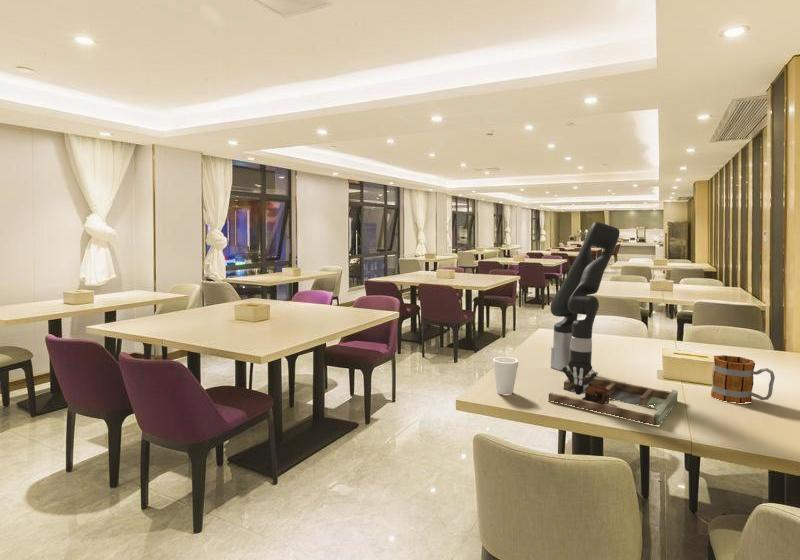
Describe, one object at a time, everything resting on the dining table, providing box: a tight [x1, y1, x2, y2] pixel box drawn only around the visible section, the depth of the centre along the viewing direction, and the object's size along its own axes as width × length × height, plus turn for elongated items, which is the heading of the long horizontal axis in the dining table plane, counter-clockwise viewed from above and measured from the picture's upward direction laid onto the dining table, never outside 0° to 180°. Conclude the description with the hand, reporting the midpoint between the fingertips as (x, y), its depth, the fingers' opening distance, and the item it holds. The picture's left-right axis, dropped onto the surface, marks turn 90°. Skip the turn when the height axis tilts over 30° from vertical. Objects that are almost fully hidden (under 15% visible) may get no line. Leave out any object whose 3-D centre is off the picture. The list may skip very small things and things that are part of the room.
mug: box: [710, 354, 776, 403], centre depth 182 cm, size 20×14×15 cm
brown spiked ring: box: [581, 384, 610, 405], centre depth 176 cm, size 12×10×8 cm
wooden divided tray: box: [548, 375, 678, 426], centre depth 180 cm, size 38×31×4 cm
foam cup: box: [492, 356, 519, 395], centre depth 189 cm, size 10×9×13 cm
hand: (578, 394), depth 182 cm, fingers closed
